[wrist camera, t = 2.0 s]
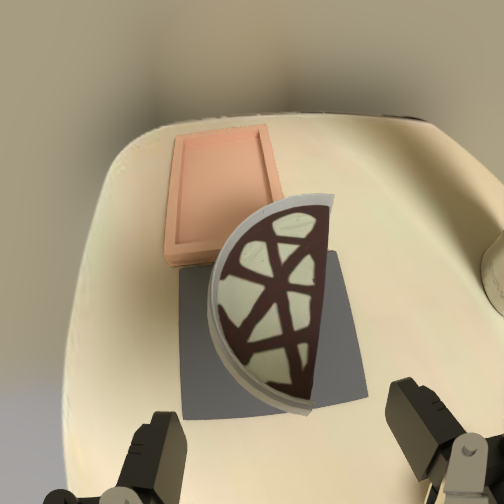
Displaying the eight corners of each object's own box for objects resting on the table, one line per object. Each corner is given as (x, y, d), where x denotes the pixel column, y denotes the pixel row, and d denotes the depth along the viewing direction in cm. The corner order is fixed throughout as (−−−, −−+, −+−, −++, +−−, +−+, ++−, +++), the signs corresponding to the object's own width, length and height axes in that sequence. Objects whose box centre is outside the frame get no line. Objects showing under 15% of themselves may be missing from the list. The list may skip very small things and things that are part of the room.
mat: (335, 252, 26) (336, 250, 26) (367, 397, 20) (368, 396, 19) (180, 270, 26) (179, 268, 26) (184, 419, 20) (183, 419, 19)
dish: (266, 137, 35) (266, 124, 34) (291, 253, 27) (292, 240, 25) (179, 148, 35) (176, 136, 34) (170, 266, 27) (163, 255, 25)
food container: (244, 258, 26) (231, 175, 18) (314, 268, 25) (334, 187, 17) (211, 400, 20) (168, 388, 11) (293, 415, 19) (313, 416, 11)
